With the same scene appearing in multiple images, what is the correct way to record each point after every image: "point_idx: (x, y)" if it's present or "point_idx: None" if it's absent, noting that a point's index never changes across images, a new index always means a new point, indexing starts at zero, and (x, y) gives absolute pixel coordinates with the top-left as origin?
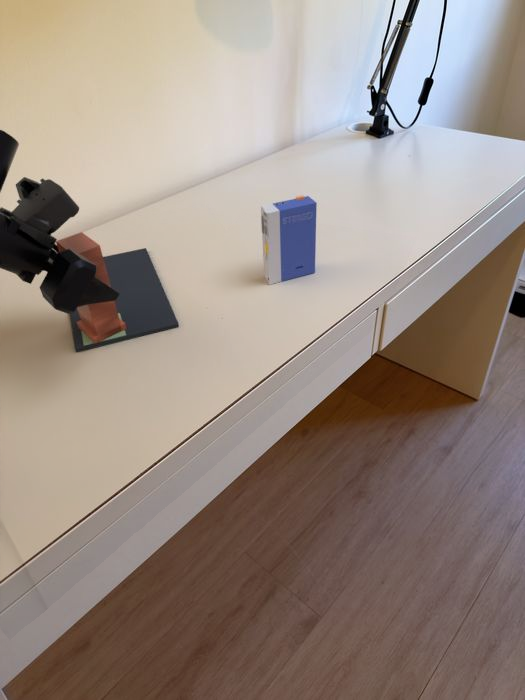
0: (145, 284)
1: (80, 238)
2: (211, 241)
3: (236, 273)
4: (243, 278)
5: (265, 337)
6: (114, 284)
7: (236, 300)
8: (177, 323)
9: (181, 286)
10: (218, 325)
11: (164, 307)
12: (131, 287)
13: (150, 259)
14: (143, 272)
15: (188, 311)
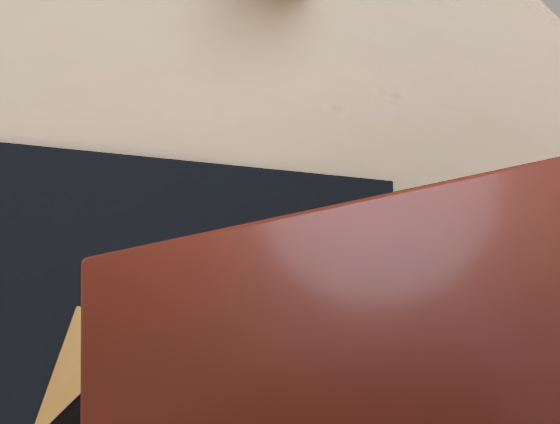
0: (140, 196)
1: (298, 327)
2: (50, 9)
3: (230, 16)
4: (259, 13)
5: (504, 55)
6: (66, 281)
7: (339, 51)
8: (392, 182)
9: (203, 124)
10: (422, 111)
11: (297, 187)
12: (126, 237)
13: (15, 144)
14: (70, 181)
15: (329, 146)
